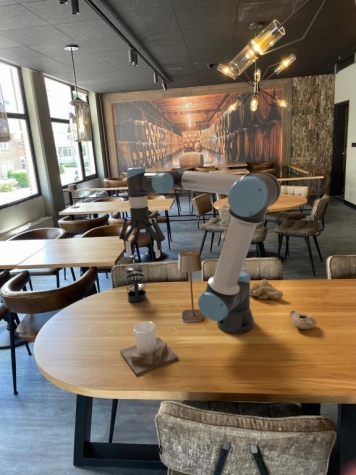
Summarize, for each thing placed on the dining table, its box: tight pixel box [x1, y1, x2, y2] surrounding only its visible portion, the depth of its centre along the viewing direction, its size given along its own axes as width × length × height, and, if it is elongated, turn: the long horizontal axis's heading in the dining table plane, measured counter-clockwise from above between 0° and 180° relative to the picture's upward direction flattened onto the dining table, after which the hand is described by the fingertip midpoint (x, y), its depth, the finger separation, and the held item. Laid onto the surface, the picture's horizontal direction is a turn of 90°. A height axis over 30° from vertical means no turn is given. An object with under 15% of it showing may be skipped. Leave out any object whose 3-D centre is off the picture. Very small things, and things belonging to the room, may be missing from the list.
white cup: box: [133, 321, 157, 355], centre depth 124 cm, size 8×8×10 cm
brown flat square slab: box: [119, 336, 179, 377], centre depth 123 cm, size 16×16×3 cm
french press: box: [124, 254, 148, 304], centre depth 168 cm, size 12×9×23 cm
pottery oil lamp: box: [289, 310, 317, 330], centre depth 137 cm, size 9×12×7 cm
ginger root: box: [250, 278, 284, 300], centre depth 165 cm, size 16×16×8 cm
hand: (143, 256), depth 144 cm, fingers open, 13 cm apart
